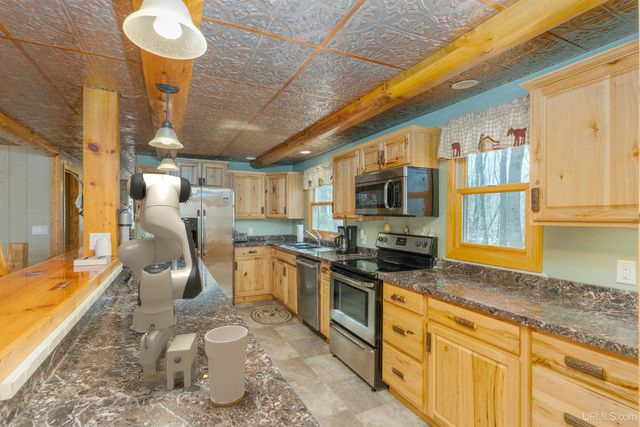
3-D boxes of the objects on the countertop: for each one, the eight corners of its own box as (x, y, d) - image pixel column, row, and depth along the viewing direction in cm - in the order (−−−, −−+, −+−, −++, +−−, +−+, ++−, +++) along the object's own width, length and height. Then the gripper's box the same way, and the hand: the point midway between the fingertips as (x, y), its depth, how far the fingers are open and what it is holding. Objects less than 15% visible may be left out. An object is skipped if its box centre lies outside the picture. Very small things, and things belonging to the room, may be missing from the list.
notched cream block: (177, 368, 98) (176, 334, 98) (197, 366, 99) (196, 333, 99) (166, 392, 85) (165, 353, 85) (189, 389, 87) (188, 350, 87)
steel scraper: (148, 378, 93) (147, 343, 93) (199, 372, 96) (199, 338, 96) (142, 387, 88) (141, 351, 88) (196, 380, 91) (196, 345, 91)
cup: (253, 384, 89) (252, 325, 88) (242, 410, 77) (241, 342, 77) (215, 384, 89) (214, 325, 89) (198, 409, 78) (197, 342, 77)
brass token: (198, 374, 95) (198, 371, 95) (213, 371, 97) (213, 369, 97) (197, 381, 91) (197, 378, 91) (213, 378, 93) (213, 376, 93)
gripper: (158, 331, 82) (159, 382, 82) (176, 308, 102) (177, 349, 102) (132, 334, 80) (133, 386, 80) (156, 309, 100) (156, 351, 100)
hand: (158, 365), depth 91 cm, fingers open, 8 cm apart
